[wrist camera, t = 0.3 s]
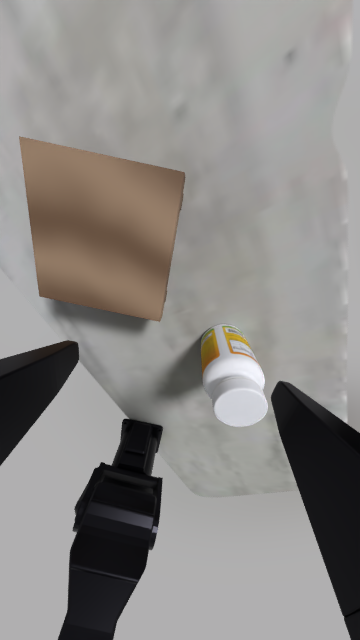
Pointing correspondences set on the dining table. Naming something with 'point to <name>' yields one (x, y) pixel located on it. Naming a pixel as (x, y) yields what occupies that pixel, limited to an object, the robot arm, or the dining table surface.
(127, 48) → the dining table surface
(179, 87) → the dining table surface
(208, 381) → the supplement bottle
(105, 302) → the stool
